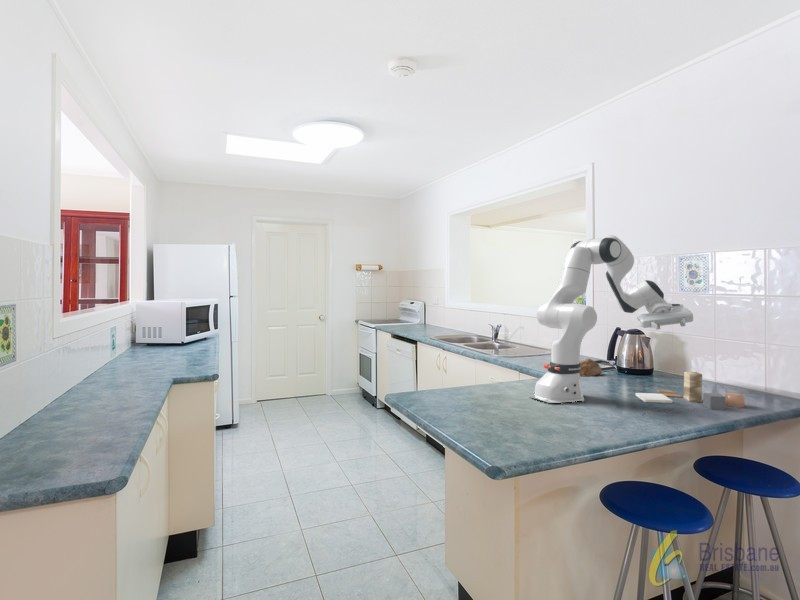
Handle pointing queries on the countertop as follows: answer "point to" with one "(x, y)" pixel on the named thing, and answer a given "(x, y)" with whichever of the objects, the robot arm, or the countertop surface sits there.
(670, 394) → the walnut board
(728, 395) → the orange block
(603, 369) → the sketchbook
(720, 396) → the grey cube
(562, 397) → the robot arm
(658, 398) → the tile
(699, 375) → the beech block
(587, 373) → the stone
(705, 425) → the countertop surface
